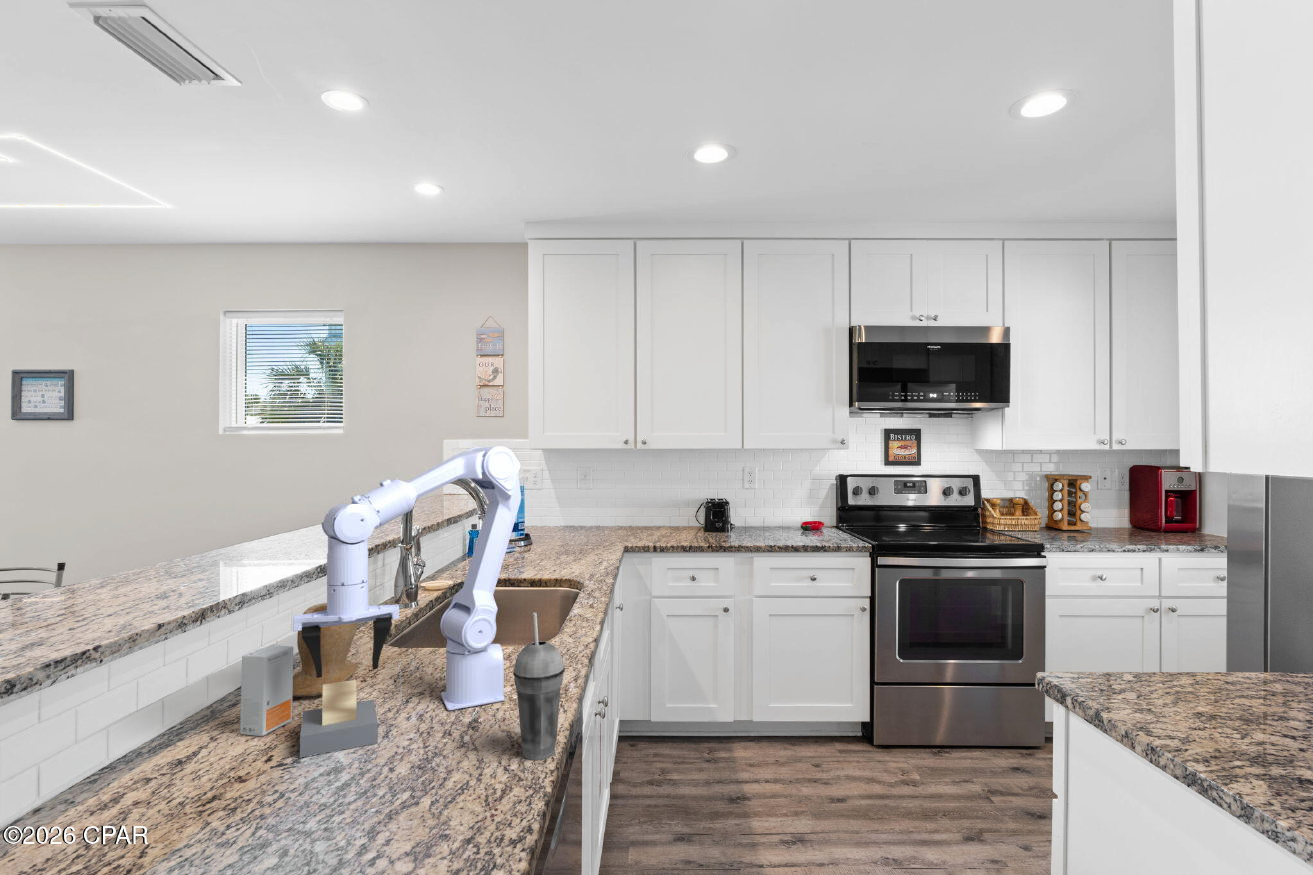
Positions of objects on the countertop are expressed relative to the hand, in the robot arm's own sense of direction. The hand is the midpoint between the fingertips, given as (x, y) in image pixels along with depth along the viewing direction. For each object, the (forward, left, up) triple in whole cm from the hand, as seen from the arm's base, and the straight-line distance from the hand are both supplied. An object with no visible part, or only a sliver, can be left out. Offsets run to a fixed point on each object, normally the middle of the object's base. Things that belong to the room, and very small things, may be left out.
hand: (347, 671), depth 97 cm
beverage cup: (-24, +20, -10) cm, 33 cm away
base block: (+1, +1, -9) cm, 9 cm away
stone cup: (+3, -24, -10) cm, 26 cm away
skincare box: (+11, -8, -10) cm, 17 cm away
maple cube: (+1, +1, -6) cm, 7 cm away
